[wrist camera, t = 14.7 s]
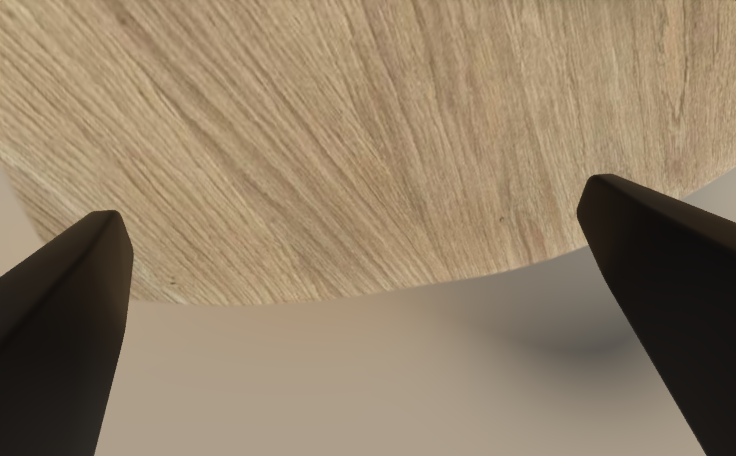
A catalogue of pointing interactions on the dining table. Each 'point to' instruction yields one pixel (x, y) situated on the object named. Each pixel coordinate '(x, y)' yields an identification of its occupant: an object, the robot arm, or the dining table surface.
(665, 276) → the robot arm
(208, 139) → the dining table surface
